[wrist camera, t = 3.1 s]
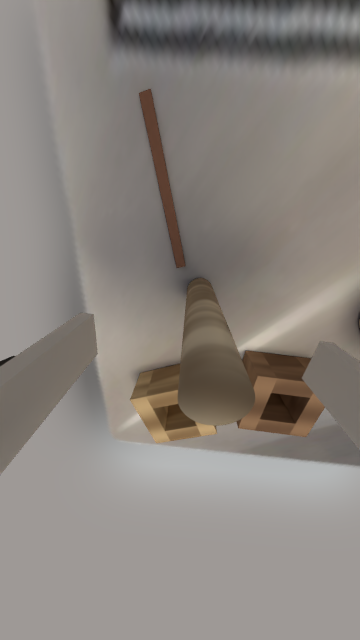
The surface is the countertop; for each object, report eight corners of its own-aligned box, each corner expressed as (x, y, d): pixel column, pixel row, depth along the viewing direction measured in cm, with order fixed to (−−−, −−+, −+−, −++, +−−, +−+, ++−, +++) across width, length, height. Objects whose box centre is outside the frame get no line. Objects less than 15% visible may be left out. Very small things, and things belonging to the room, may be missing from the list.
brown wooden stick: (139, 95, 15) (138, 92, 15) (151, 91, 15) (150, 88, 15) (176, 267, 21) (176, 268, 20) (185, 265, 20) (185, 266, 20)
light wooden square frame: (140, 373, 27) (130, 399, 23) (197, 359, 26) (198, 385, 21) (161, 412, 31) (156, 443, 26) (213, 403, 29) (216, 433, 25)
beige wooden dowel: (188, 276, 21) (181, 364, 6) (214, 279, 21) (265, 375, 6) (185, 300, 22) (174, 420, 8) (209, 303, 22) (244, 429, 8)
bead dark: (245, 350, 25) (257, 375, 20) (311, 358, 25) (338, 386, 20) (230, 397, 28) (238, 428, 24) (287, 405, 28) (305, 436, 24)
